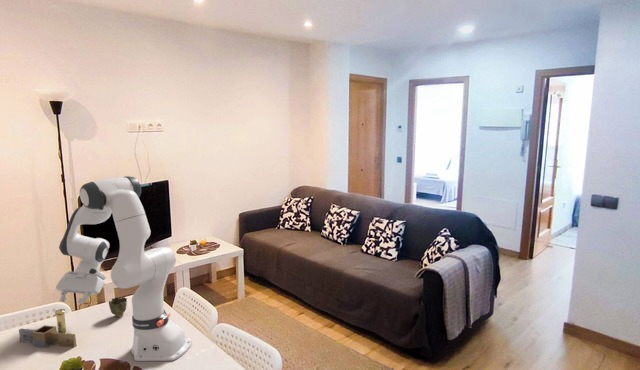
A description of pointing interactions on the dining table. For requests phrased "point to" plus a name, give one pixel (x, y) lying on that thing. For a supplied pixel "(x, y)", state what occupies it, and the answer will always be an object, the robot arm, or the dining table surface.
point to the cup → (118, 306)
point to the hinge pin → (61, 320)
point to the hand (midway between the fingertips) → (71, 302)
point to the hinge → (47, 337)
